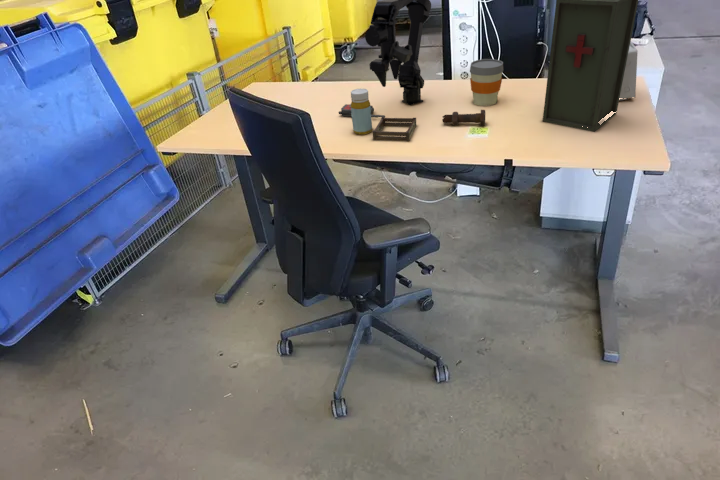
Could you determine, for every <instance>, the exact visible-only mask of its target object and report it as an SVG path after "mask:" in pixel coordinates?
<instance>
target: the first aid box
mask: <svg viewBox="0 0 720 480" xmlns="http://www.w3.org/2000/svg"><path fill="white" fill-rule="evenodd" d="M638 5H639V0H555V9H554V16H553V24H552V25H553V26H552V36H551V43H550V44H551V45H550V52H549V53H550V54H549V62H548V69H547V79H546V89H545V94H544V95H545V96H544V105H543V112H542V113H543V114H542V122H544V123H548V124H553V125H559V126H563V127H568V128H574V129H579V130H584V131H588V132H594V133H595V132H596V131H598V130H599V129H600V128H601V127H603V126H604V125H605V124H606V123H608V122H609V121H611V119H612V118H614V117H615V116H616V115H617V114H618V113H617V112H618V109H619V102H620V100H619V98H620V93H621V88H622V82H623V77H624V72H625V67H626V62H627V57H628V52H629V47H630V41H632V36H633V31H634V25H635V21H636V15H637V10H638ZM611 111H613V112H616V111H617V112H616V113H614V114H613V115H612V116H611V117H609V118H608V119H607V120H606V121H604V122H603V123H602V124H601V125H600V124H599V123H598V122H599V121H600V120H601V119H602V118H604V117H605V116H606V115H607V114H609V113H610V112H611ZM582 126H583V127H582ZM587 127H588V128H587Z"/></svg>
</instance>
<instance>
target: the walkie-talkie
mask: <svg viewBox="0 0 720 480" xmlns="http://www.w3.org/2000/svg"><path fill="white" fill-rule="evenodd" d="M370 106H371V118H375V119H376V118H378V119H379V118H382V117H385V118H386V115H385V114H373V113H374V112H375V108H374V107H373V105H371V104H370ZM338 115H341V116H342V117H348V118H349V117H350V118H352V113H351V103H350V104H349V103H348V104H346V103H345V104H344V105H343V106H342V107H341V108H340V111H338Z"/></svg>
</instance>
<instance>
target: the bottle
mask: <svg viewBox="0 0 720 480" xmlns="http://www.w3.org/2000/svg"><path fill="white" fill-rule="evenodd" d="M369 98H370V97H369V90H368V89H367V88H355V89H352V90H351V91H350V99H351V102H350V104H351V113H352V117H351V121H352V123H351V124H352V131H353V133H354V134H355V135H359V136H360V135H361V136H363V135H368V134H370V133H372V132H373V122H372V121H373V120H372V117H371V115H372V113H371V106H372V105H371V101H370V100H369ZM370 105H371V106H370Z"/></svg>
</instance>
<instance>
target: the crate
mask: <svg viewBox="0 0 720 480" xmlns="http://www.w3.org/2000/svg"><path fill="white" fill-rule="evenodd" d="M385 127H402V128H403V127H404V128H405V127H407V130H406V131H387V130H386V131H385V130H384V131H383V129H384V128H385ZM416 127H417V117H386V116H385V117H380V121H379V122H378V124H377V125H376V127H375V128H374V130H373V129H372V140H373V141H394V142H395V141H397V142H399V141H400V142H410V140H411V137H412V136H413V133H414V131H415V129H416Z"/></svg>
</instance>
